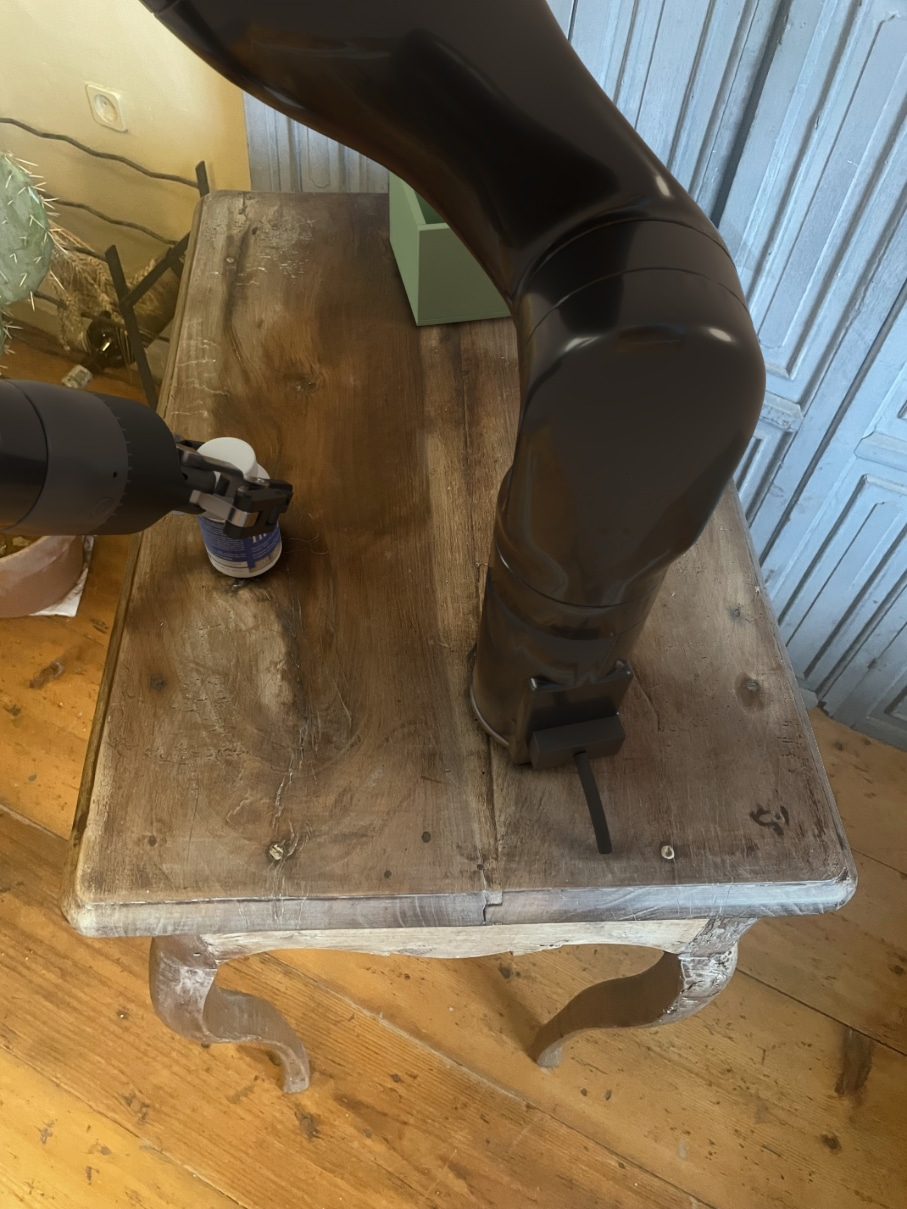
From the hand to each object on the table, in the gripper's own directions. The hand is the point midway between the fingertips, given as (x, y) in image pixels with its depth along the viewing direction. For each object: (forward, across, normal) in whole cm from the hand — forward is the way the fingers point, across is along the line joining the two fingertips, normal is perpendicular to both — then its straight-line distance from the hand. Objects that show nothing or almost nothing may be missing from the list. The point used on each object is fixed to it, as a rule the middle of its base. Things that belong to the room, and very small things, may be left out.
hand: (249, 478), depth 60 cm
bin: (+30, +4, -21) cm, 37 cm away
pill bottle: (+3, 0, +6) cm, 7 cm away
